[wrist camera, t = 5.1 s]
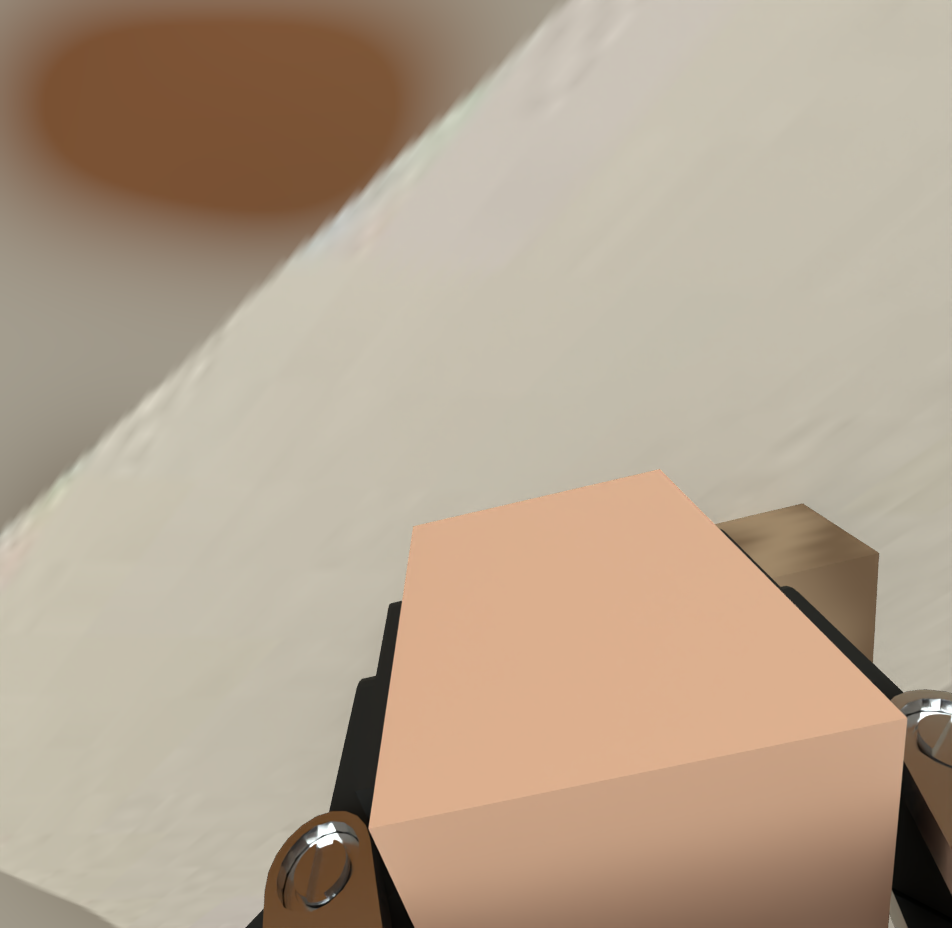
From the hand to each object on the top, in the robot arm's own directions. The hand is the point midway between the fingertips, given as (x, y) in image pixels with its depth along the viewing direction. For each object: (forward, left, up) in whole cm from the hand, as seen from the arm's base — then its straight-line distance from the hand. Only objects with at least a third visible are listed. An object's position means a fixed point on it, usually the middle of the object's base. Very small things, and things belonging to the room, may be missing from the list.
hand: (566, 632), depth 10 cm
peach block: (0, 0, -1) cm, 1 cm away
